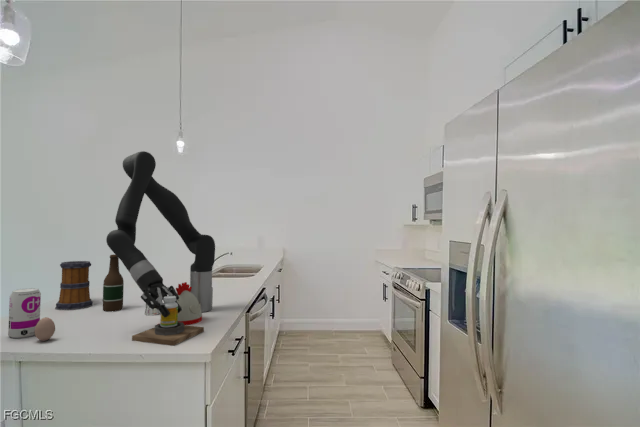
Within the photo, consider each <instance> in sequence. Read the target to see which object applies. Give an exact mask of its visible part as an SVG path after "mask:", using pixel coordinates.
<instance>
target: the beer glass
mask: <svg viewBox="0 0 640 427" xmlns="http://www.w3.org/2000/svg"><path fill="white" fill-rule="evenodd" d="M151 304H152V305H153V302H152V301H151ZM144 309H145V310H144V315H145V316H157V315H161V313H160V311H159V310H157V309H156V308H154V309H151V308H150V307H149V306H148V305H147V304H146V303H145V308H144Z"/></svg>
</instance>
